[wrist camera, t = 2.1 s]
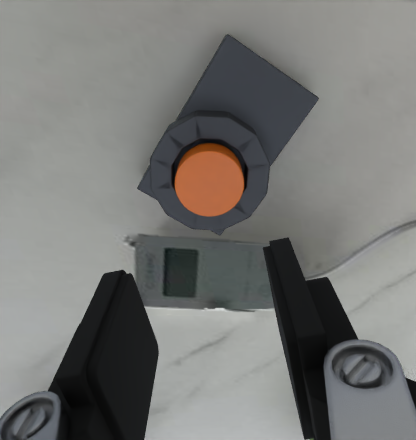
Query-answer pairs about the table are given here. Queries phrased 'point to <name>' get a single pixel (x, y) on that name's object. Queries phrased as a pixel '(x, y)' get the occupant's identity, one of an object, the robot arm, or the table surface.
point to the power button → (209, 179)
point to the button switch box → (230, 130)
